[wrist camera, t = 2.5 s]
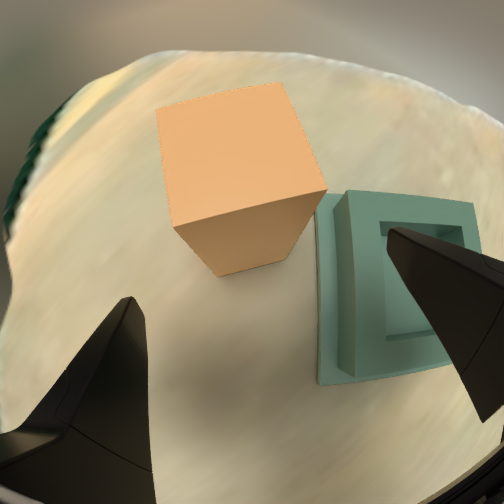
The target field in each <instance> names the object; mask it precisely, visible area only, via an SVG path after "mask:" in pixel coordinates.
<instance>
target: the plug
mask: <svg viewBox="0 0 504 504" xmlns="http://www.w3.org/2000/svg"><path fill="white" fill-rule="evenodd" d="M156 116H157V126H158V134H159V143H160V151H161V158H162V166H163V173H164V179H165V186H166V192H167V198H168V204H169V210H170V216H171V222H172V227H173V228H174V229H175V231H176V232H177V233H178V234H179V235H180V236H181V237H182V238H183V240H184V241H185V242H186V243H187V244H188V245H189V246H190V247H191V248H192V250H193V251H194V252H195V253H196V254H197V255H198V256H199V257H200V258H201V259H202V261H203V262H204V263H205V264H206V265H207V266H208V267H209V268H210V269H211V270H212V271H213V273H214V274H215V275H216V276H217V277H220V276H224V275H227V274H231V273H235V272H239V271H243V270H247V269H251V268H255V267H258V266H262V265H266V264H270V263H274V262H277V261H281V260H285V259H286V258H287V256H288V254H289V253H290V251H291V249H292V248H293V246H294V245H295V243H296V241H297V240H298V238H299V236H300V235H301V233H302V231H303V230H304V228H305V226H306V225H307V223H308V221H309V220H310V218H311V216H312V215H313V213H314V211H315V210H316V208H317V206H318V205H319V203H320V201H321V200H322V198H323V196H324V195H325V193H326V191H327V186H326V184H325V181H324V178H323V176H322V173H321V171H320V168H319V166H318V163H317V161H316V159H315V156H314V154H313V151H312V149H311V147H310V144H309V142H308V140H307V137H306V135H305V133H304V130H303V128H302V126H301V124H300V122H299V119H298V117H297V115H296V113H295V111H294V109H293V106H292V104H291V102H290V100H289V98H288V96H287V94H286V92H285V90H284V88H283V86H282V84H281V82H278V83H270V84H264V85H257V86H251V87H245V88H240V89H235V90H229V91H225V92H220V93H215V94H211V95H207V96H202V97H198V98H194V99H190V100H187V101H183V102H179V103H176V104H172V105H169V106H166V107H162V108H159V109H156Z"/></svg>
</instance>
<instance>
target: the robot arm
mask: <svg viewBox="0 0 504 504" xmlns="http://www.w3.org/2000/svg"><path fill="white" fill-rule="evenodd" d="M386 250H387V254H388V256H389V257H390V259H391V261H392V263H393V264H394V266H395V268H396V270H397V271H398V273H399V275H400V277H401V279H402V281H403V282H404V284H405V286H406V287H407V289H408V291H409V292H410V294H411V295H412V297H413V298H414V300H415V301H416V303H417V304H418V306H419V307H420V309H421V310H422V312H423V314H424V315H425V317H426V318H427V320H428V322H429V323H430V325H431V326H432V328H433V330H434V331H435V333H436V335H437V336H438V338H439V340H440V342H441V343H442V345H443V347H444V348H445V350H446V352H447V354H448V356H449V357H450V359H451V361H452V363H453V365H454V367H455V368H456V370H457V372H458V374H459V376H460V378H461V380H462V382H463V384H464V386H465V388H466V390H467V392H468V394H469V396H470V398H471V400H472V403H473V405H474V407H475V409H476V411H477V413H478V416H479V418H480V420H481V422H482V423H484V422H485V421H486V420H487V419H489V418H490V417H491V416H492V415H493V414H494V413H496V412H497V411H498V410H499V409H500V408H501V407H502V406H503V405H504V262H503V261H500V260H497V259H494V258H492V257H489V256H486V255H484V254H479V253H478V252H475V251H473V250H470V249H467V248H464V247H462V246H459V245H456V244H453V243H450V242H447V241H444V240H441V239H438V238H435V237H432V236H429V235H426V234H423V233H420V232H417V231H414V230H410V229H407V228H404V227H401V226H396V227H393V228H390V229H389V230H388V235H387V246H386ZM0 504H156V497H155V489H154V481H153V473H152V463H151V451H150V436H149V415H148V352H147V340H146V327H145V317H144V314H143V312H142V310H141V309H140V307H139V305H138V303H137V302H136V300H135V298H134V297H132V296H130V297H126V298H122V299H121V300H120V301H119V302H118V303H117V305H116V306H115V307H114V308H113V309H112V311H111V312H110V313H109V314H108V315H107V317H106V318H105V319H104V320H103V321H102V323H101V324H100V325H99V326H98V328H97V329H96V330H95V331H94V333H93V334H92V335H91V336H90V338H89V339H88V340H87V341H86V343H85V344H84V345H83V347H82V348H81V349H80V350H79V352H78V353H77V354H76V356H75V357H74V358H73V360H72V361H71V362H70V364H69V365H68V366H67V368H66V370H64V372H63V373H62V374H61V376H60V377H59V378H58V380H57V381H56V382H55V384H54V385H53V386H52V388H51V389H50V390H49V391H48V393H47V394H46V395H45V396H44V398H43V399H42V400H41V401H40V403H39V404H38V405H37V406H36V407H35V409H34V410H33V411H32V412H31V414H30V415H29V416H28V417H27V419H26V420H25V421H24V422H23V423H22V424H21V425H20V426H19V427H18V428H16V429H14V430H12V431H10V432H6V433H2V434H0ZM418 504H504V426H503V432H502V437H501V442H500V445H498V446H497V447H496V448H495V449H494V450H493V451H492V452H490V453H489V454H488V455H487V456H486V457H485V458H483V459H482V460H481V461H480V462H478V463H477V464H476V465H475V466H473V467H472V468H471V469H470V470H468V471H467V472H466V473H464V474H463V475H461V476H460V477H459V478H457V479H456V480H454V481H453V482H452V483H450V484H449V485H447V486H446V487H444V488H442V489H441V490H439V491H438V492H436V493H435V494H433V495H431V496H430V497H428V498H426V499H425V500H423V501H421V502H419V503H418Z"/></svg>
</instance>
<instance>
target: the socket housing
mask: <svg viewBox="0 0 504 504" xmlns="http://www.w3.org/2000/svg"><path fill="white" fill-rule="evenodd" d="M315 226H316V245H317V269H318V382H317V383H318V384H319V385H320V386H325V385H336V384H345V383H354V382H362V381H369V380H376V379H382V378H388V377H394V376H399V375H405V374H410V373H415V372H419V371H424V370H428V369H433V368H437V367H441V366H445V365H449V364H453V363H452V361H451V359H450V357H449V356H448V354H447V352H446V350H445V348H444V347H443V345H442V343H441V342H440V340H439V338H438V336H437V335H436V333H435V331H434V330H433V328H432V326H431V325H430V323H429V322H428V320H427V318H426V317H425V315H424V314H423V312H422V310H421V309H420V307H419V306H418V304H417V303H416V301H415V300H414V298H413V297H412V295H411V294H410V292H409V291H408V289H407V287H406V286H405V284H404V282H403V281H402V279H401V277H400V275H399V273H398V271H397V270H396V268H395V266H394V264H393V263H392V261H391V259H390V257H389V256H388V254H387V250H386V246H387V235H388V230H389V229H390V228H393V227H396V226H401V227H404V228H407V229H410V230H414V231H417V232H420V233H423V234H426V235H429V236H432V237H435V238H438V239H441V240H444V241H447V242H450V243H453V244H456V245H459V246H462V247H464V248H467V249H470V250H473V251H475V252H478V253H479V254H482V251H481V244H480V237H479V231H478V226H477V220H476V215H475V210H474V206H473V203H469V202H462V201H455V200H448V199H440V198H432V197H423V196H414V195H405V194H394V193H383V192H370V191H357V190H347V191H346V192H345V194H327V193H325V195H324V196H323V198H322V200H321V201H320V203H319V205H318V206H317V208H316V210H315Z"/></svg>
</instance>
